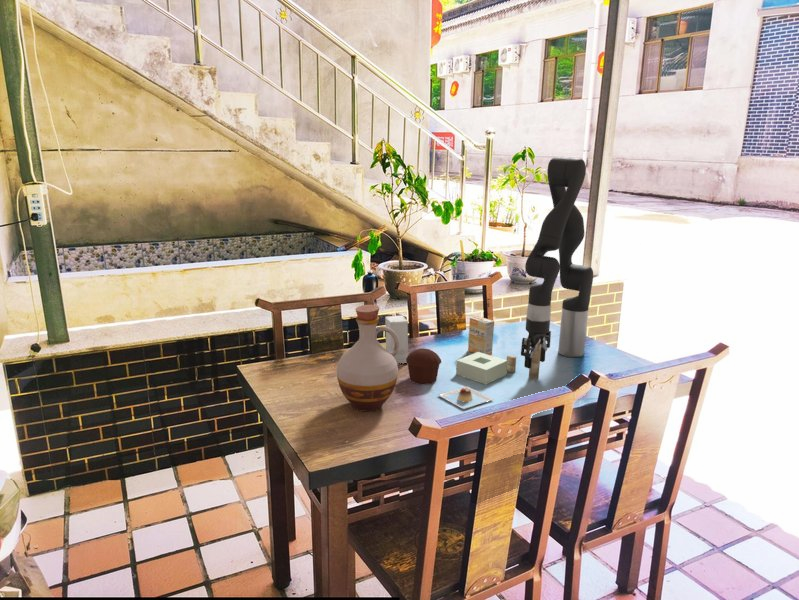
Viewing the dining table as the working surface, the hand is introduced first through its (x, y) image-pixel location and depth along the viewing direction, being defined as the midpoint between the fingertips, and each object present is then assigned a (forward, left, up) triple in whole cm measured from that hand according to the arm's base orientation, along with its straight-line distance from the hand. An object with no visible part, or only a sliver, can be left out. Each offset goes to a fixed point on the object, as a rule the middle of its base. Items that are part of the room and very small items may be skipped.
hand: (534, 364), depth 198 cm
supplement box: (-7, -27, -5) cm, 28 cm away
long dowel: (0, 0, -5) cm, 5 cm away
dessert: (+29, -6, -6) cm, 30 cm away
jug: (+53, -23, -5) cm, 58 cm away
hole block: (+10, -14, -5) cm, 18 cm away
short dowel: (0, -9, -5) cm, 10 cm away
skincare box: (+21, -43, -5) cm, 48 cm away
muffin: (+27, -25, -5) cm, 37 cm away
